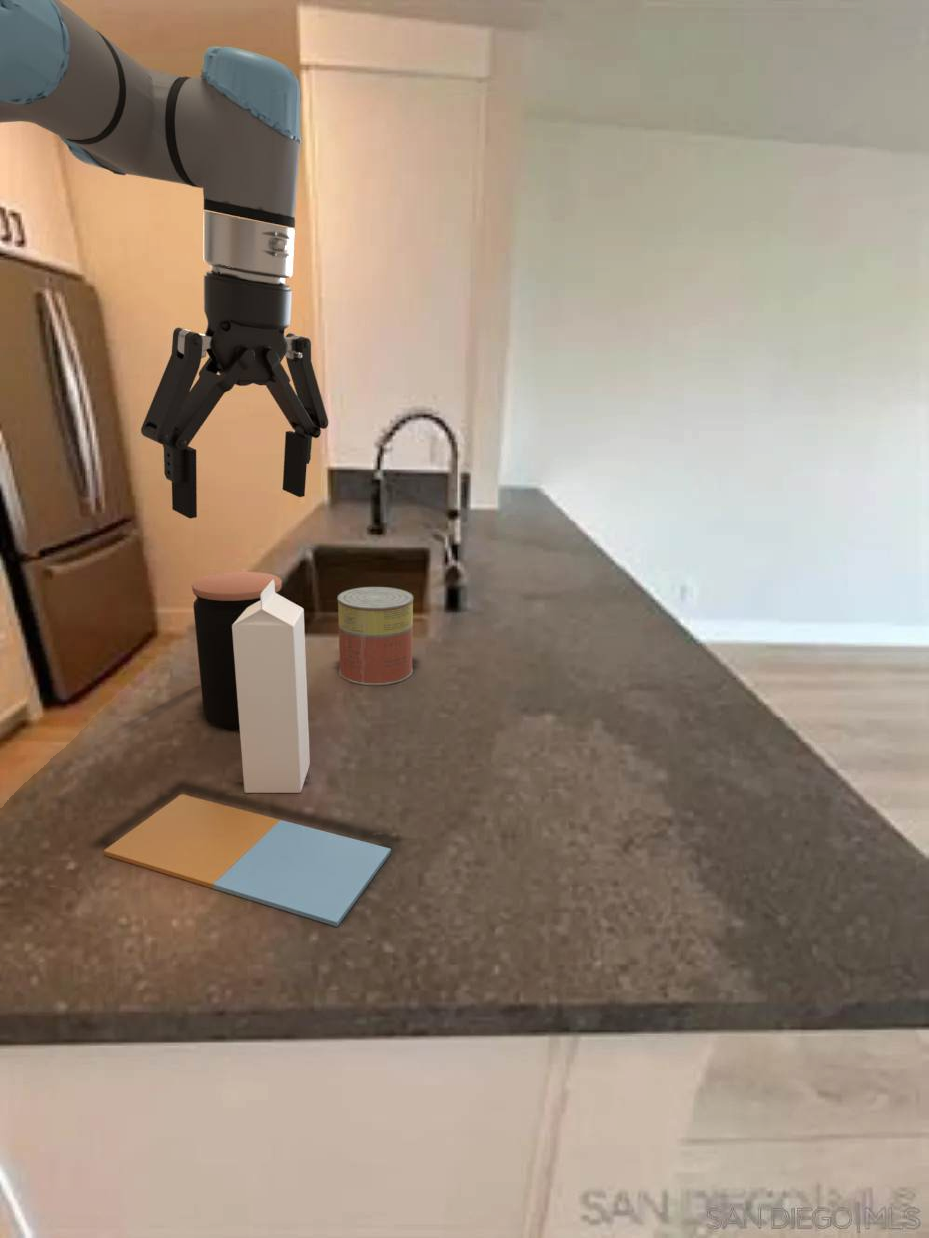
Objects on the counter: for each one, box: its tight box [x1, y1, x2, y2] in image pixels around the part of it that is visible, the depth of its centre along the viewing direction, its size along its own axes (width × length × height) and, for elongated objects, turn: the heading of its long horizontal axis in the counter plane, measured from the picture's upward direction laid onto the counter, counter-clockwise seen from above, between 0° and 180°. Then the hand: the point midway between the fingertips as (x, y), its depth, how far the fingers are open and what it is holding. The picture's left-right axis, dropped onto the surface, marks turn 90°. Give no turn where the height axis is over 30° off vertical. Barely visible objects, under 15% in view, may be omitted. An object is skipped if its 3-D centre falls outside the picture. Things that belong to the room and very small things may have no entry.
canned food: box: [336, 586, 415, 687], centre depth 102 cm, size 11×11×12 cm
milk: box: [232, 580, 311, 794], centre depth 71 cm, size 6×6×22 cm
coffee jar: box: [191, 571, 283, 731], centre depth 86 cm, size 11×11×18 cm
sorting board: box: [103, 793, 392, 928], centre depth 62 cm, size 24×10×1 cm, turn 70°
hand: (243, 502), depth 70 cm, fingers open, 13 cm apart
